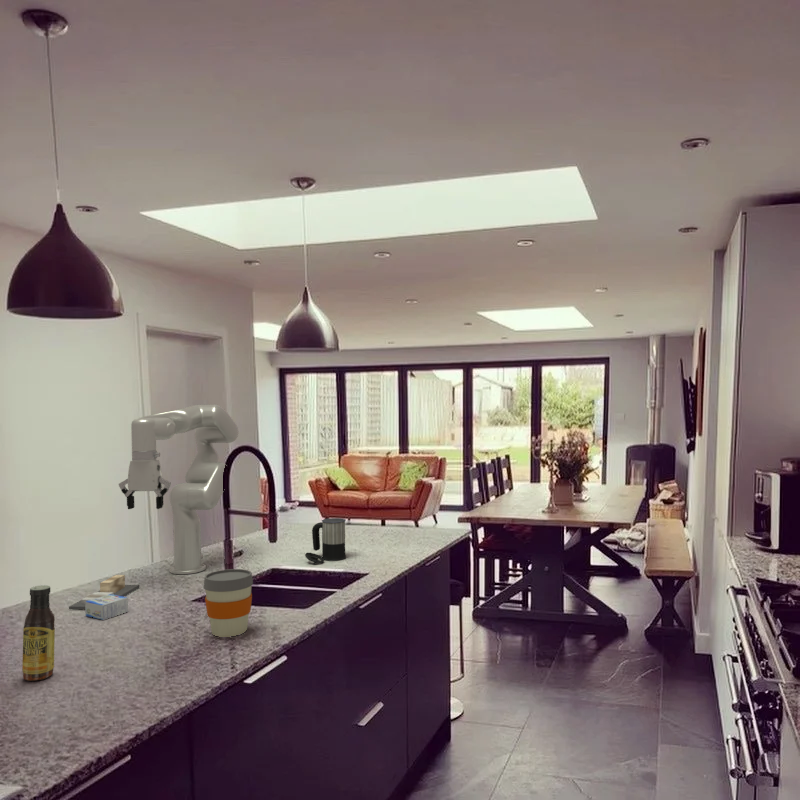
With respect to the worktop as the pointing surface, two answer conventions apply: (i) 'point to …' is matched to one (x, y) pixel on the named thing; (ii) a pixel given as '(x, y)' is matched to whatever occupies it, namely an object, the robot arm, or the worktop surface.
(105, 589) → the beige curved piece
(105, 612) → the medicine box
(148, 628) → the worktop surface
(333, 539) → the milk frother
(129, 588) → the mat
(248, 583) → the reusable coffee cup
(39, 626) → the sauce bottle
